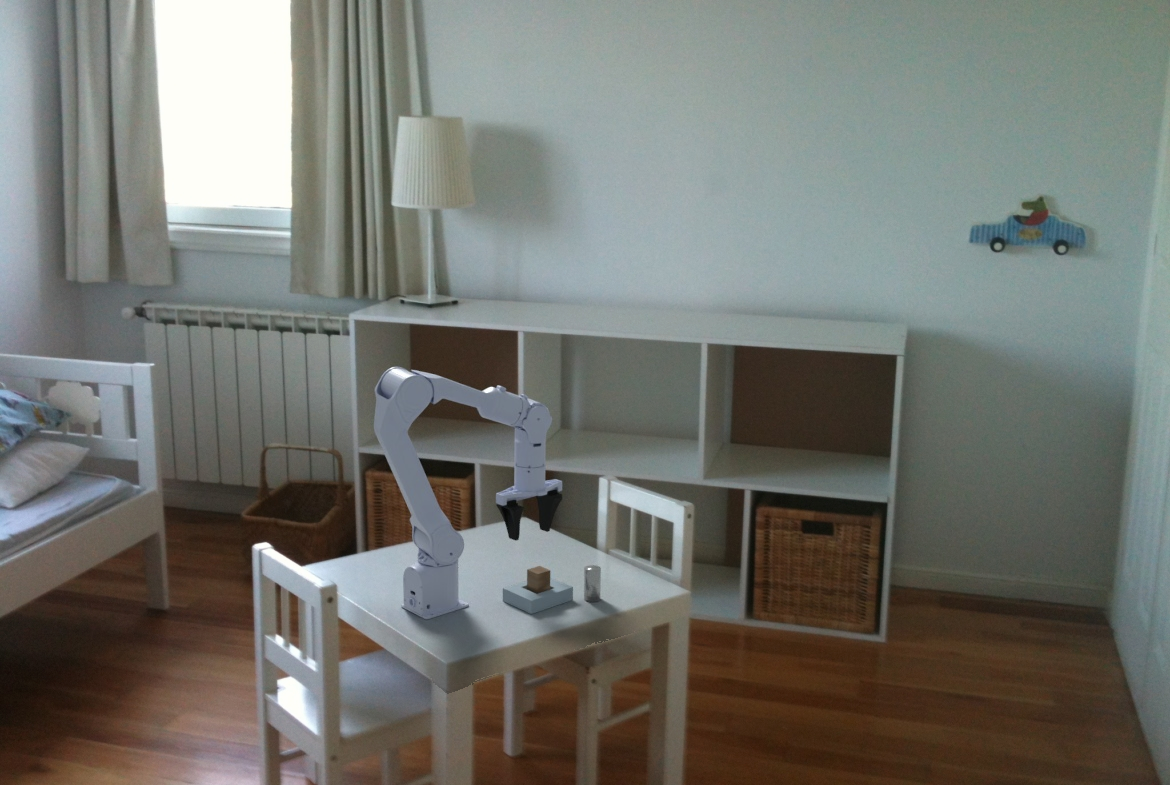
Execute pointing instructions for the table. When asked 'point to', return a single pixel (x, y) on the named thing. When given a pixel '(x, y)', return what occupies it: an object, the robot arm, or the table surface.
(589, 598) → the cylinder
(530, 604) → the socket block
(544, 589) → the square bit
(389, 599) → the table surface
